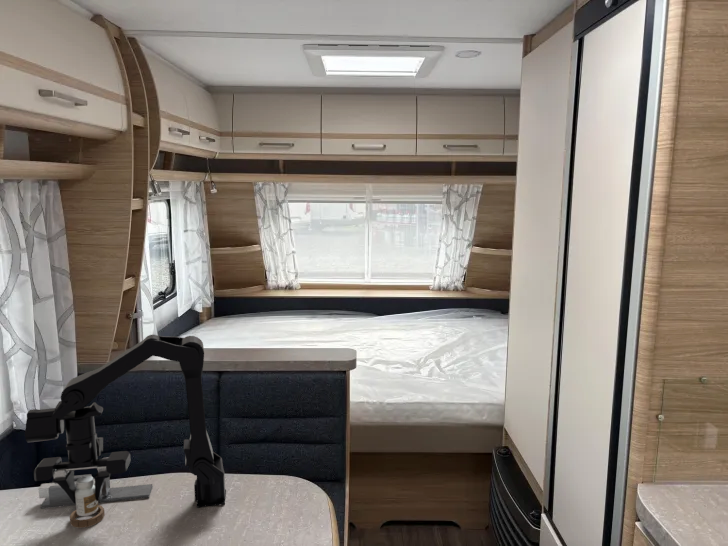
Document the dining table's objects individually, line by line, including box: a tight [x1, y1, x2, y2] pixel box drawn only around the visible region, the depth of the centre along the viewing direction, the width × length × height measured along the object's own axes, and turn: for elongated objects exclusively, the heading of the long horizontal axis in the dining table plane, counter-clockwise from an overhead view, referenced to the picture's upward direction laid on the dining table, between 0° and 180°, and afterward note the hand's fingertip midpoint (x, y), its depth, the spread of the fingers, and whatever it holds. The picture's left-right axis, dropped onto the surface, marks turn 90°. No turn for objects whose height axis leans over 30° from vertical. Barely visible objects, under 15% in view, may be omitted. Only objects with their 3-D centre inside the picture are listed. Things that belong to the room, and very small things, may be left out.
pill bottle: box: [75, 476, 99, 517], centre depth 129 cm, size 4×4×8 cm
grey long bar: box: [38, 476, 111, 499], centre depth 138 cm, size 15×4×4 cm, turn 101°
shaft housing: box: [40, 473, 154, 509], centre depth 139 cm, size 24×5×5 cm, turn 101°
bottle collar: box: [69, 504, 106, 529], centre depth 130 cm, size 7×7×2 cm
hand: (86, 501), depth 129 cm, fingers closed on pill bottle, 4 cm apart
